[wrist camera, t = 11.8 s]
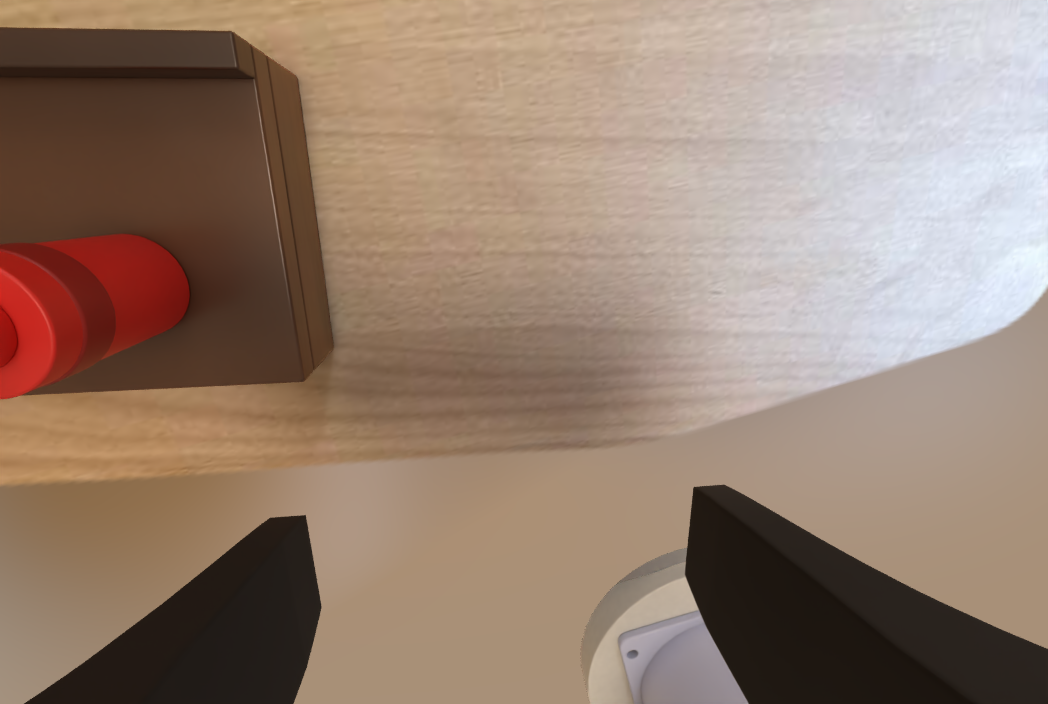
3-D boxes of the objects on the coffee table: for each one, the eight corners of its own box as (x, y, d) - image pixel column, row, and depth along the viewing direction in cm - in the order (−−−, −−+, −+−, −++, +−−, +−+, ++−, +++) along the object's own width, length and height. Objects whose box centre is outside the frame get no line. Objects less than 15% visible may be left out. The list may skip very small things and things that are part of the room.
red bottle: (211, 320, 14) (37, 404, 8) (111, 348, 14) (-130, 451, 8) (161, 219, 13) (-71, 237, 8) (55, 248, 13) (-260, 288, 7)
